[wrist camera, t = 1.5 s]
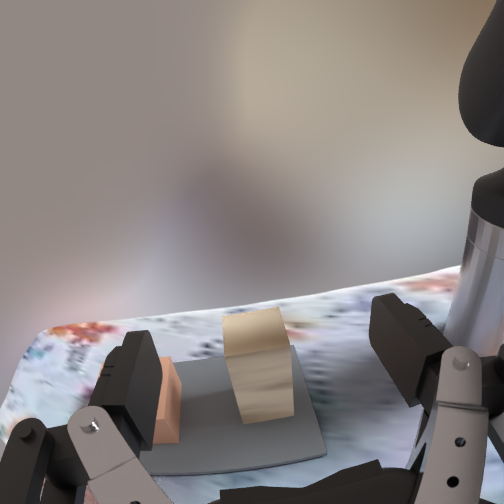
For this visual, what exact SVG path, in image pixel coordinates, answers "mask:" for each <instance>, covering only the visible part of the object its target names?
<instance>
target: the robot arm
mask: <svg viewBox="0 0 504 504" xmlns="http://www.w3.org/2000/svg"><path fill="white" fill-rule="evenodd" d="M458 95H459V96H458V99H459V110H460V114H461V117H462V120H463V122H464V124H465V126H466V128H467V129H468V131H469V132H470V133H471V134H472V135H473V136H474V137H475V138H477V139H478V140H480V141H482V142H484V143H487V144H490V145H494V146H497V147H504V0H497V1H496V4H495V6H494V8H493V10H492V12H491V14H490V16H489V18H488V20H487V21H486V23H485V25H484V27H483V29H482V30H481V32H480V34H479V36H478V38H477V40H476V41H475V43H474V45H473V47H472V49H471V50H470V52H469V55H468V57H467V59H466V62H465V64H464V67H463V70H462V73H461V78H460V84H459V93H458ZM369 339H370V343H371V346H372V348H373V349H374V351H375V352H376V354H377V355H378V357H379V359H380V360H381V362H382V363H383V365H384V367H385V368H386V370H387V371H388V373H389V375H390V376H391V378H392V379H393V381H394V383H395V384H396V386H397V388H398V389H399V391H400V393H401V394H402V396H403V397H404V399H405V401H406V402H407V404H408V406H409V407H413V406H416V405H418V404H422V406H423V407H424V408H423V411H422V414H421V418H420V422H419V426H418V430H417V434H416V438H415V442H414V445H413V449H412V452H411V455H410V458H409V461H408V463H407V465H406V468H405V469H403V468H382V467H381V465H380V463H379V460H378V459H377V460H374V461H370V462H367V463H364V464H361V465H357V466H354V467H350V468H347V469H343V470H340V471H338V472H336V473H334V474H332V475H330V476H328V477H326V478H324V479H322V480H320V481H318V482H316V483H313V484H311V485H309V486H306V487H303V488H288V487H268V486H255V487H247V488H237V489H225V490H220V499H219V500H216V501H213V502H211V503H208V504H495V503H492V502H490V501H487V500H484V499H481V498H480V492H481V487H482V480H483V474H484V466H485V458H486V448H487V436H488V437H489V439H490V440H491V442H492V444H493V445H494V447H495V449H496V450H497V452H498V454H499V456H500V457H501V459H502V461H503V463H504V168H502V169H501V170H498V171H496V172H493V173H490V174H488V175H485V176H482V177H480V178H479V179H478V180H477V181H476V182H475V184H474V187H473V192H472V201H471V209H470V217H469V224H468V230H467V237H466V243H465V248H464V253H463V258H462V263H461V268H460V272H459V277H458V281H457V285H456V289H455V293H454V297H453V301H452V304H451V308H450V311H449V315H448V318H447V322H446V325H445V328H444V331H443V334H442V333H441V332H440V331H439V330H438V329H437V328H436V327H435V326H434V325H432V323H431V321H430V320H429V319H426V316H425V315H424V314H423V313H422V312H421V311H420V310H419V309H418V308H416V307H414V306H412V305H410V304H408V303H406V304H404V303H403V302H402V301H401V300H400V299H399V298H398V297H397V296H396V295H395V294H394V293H390V294H385V295H381V296H376V297H374V298H373V300H372V306H371V316H370V326H369ZM162 379H163V373H162V366H161V362H160V360H159V357H158V354H157V351H156V348H155V346H154V343H153V340H152V337H151V334H150V332H149V331H148V330H142V331H131V332H127V333H126V336H125V338H124V341H123V344H122V346H116V347H115V348H114V349H113V350H112V351H111V352H110V353H109V354H108V355H107V357H106V360H105V362H104V365H103V368H102V370H101V373H100V377H99V378H98V380H97V383H96V386H95V388H94V391H93V394H92V396H91V399H90V402H89V405H88V406H87V407H84V408H81V409H79V410H78V411H76V412H75V413H74V414H73V415H72V416H71V418H70V419H69V421H68V424H67V425H62V426H57V427H52V428H46V426H45V425H44V424H43V423H42V422H41V421H40V420H39V419H36V418H27V419H24V420H22V421H21V422H19V423H18V424H17V425H16V426H15V427H14V429H13V430H12V432H11V435H10V437H9V440H8V442H7V445H6V448H5V450H4V453H3V456H2V458H1V462H0V504H83V503H84V496H85V490H86V485H89V487H90V489H91V491H92V493H93V495H94V497H95V498H96V500H97V502H98V504H174V503H173V502H172V501H171V500H170V499H169V498H168V496H167V495H166V494H165V493H164V492H163V490H162V489H161V488H160V487H159V485H158V484H157V483H156V482H155V480H154V479H153V478H152V477H151V475H150V474H149V473H148V471H147V470H146V469H145V467H144V466H143V465H142V463H141V462H140V461H139V456H140V451H152V445H153V437H154V430H155V423H156V417H157V410H158V404H159V397H160V391H161V385H162ZM44 478H46V480H45V484H44V488H43V493H42V497H41V502H40V493H41V490H42V485H43V481H44Z"/></svg>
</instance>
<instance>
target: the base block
mask: <svg viewBox="0 0 504 504" xmlns="http://www.w3.org/2000/svg"><path fill="white" fill-rule="evenodd" d="M159 360H160V362H161V366H162V373H163V379H162V385H161V391H160V397H159V404H158V410H157V417H156V423H155V430H154V437H153V444H162V443H179V426H180V403H181V384H182V383H181V381H180V379H179V377H178V374H177V372H176V369H175V367H174V365H173V362H172V360H171V357H161V358H159ZM103 365H104V362H103V363H102V367H101V370H102V368H103ZM101 370H100V373H101ZM100 373H99V376H98V378H99V377H100Z"/></svg>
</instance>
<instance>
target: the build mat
mask: <svg viewBox="0 0 504 504" xmlns="http://www.w3.org/2000/svg"><path fill="white" fill-rule="evenodd" d="M290 347H291V363H292V381H293V401H294V416H289V417H284V418H278V419H273V420H267V421H261V422H254V423H248V424H243V422H242V418H241V415H240V411H239V408H238V404H237V400H236V397H235V393H234V390H233V386H232V382H231V379H230V375H229V371H228V367H227V364H226V360H225V357H218V358H210V359H202V360H194V361H185V362H176V363H173V365H174V367H175V369H176V372H177V374H178V377H179V379H180V381H181V383H182V384H181V403H180V426H179V443H162V444H153V445H152V451H140V456H139V461H140V462H141V463H142V465H143V466H144V467H145V469H146V470H147V471H148V473H149V474H150V475H197V474H213V473H224V472H234V471H243V470H251V469H258V468H265V467H271V466H277V465H283V464H288V463H293V462H298V461H303V460H308V459H312V458H316V457H321V456H325V455H327V450H326V447H325V444H324V440H323V437H322V434H321V431H320V427H319V424H318V421H317V418H316V414H315V411H314V408H313V405H312V402H311V398H310V395H309V392H308V389H307V385H306V382H305V379H304V376H303V373H302V369H301V366H300V363H299V360H298V357H297V354H296V350H295V347H294V345H291V346H290Z"/></svg>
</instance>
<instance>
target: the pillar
mask: <svg viewBox="0 0 504 504" xmlns="http://www.w3.org/2000/svg"><path fill="white" fill-rule="evenodd" d="M222 324H223V339H224V354H225V360H226V364H227V367H228V371H229V375H230V379H231V382H232V386H233V390H234V393H235V397H236V400H237V404H238V408H239V411H240V415H241V418H242V422H243V424H248V423H254V422H261V421H267V420H273V419H278V418H284V417H289V416H294V401H293V381H292V363H291V347H290V343H289V339H288V336H287V333H286V329H285V326H284V323H283V320H282V316H281V313H280V310H279V307H276V308H270V309H265V310H259V311H253V312H246V313H240V314H234V315H227V316H222Z"/></svg>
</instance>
